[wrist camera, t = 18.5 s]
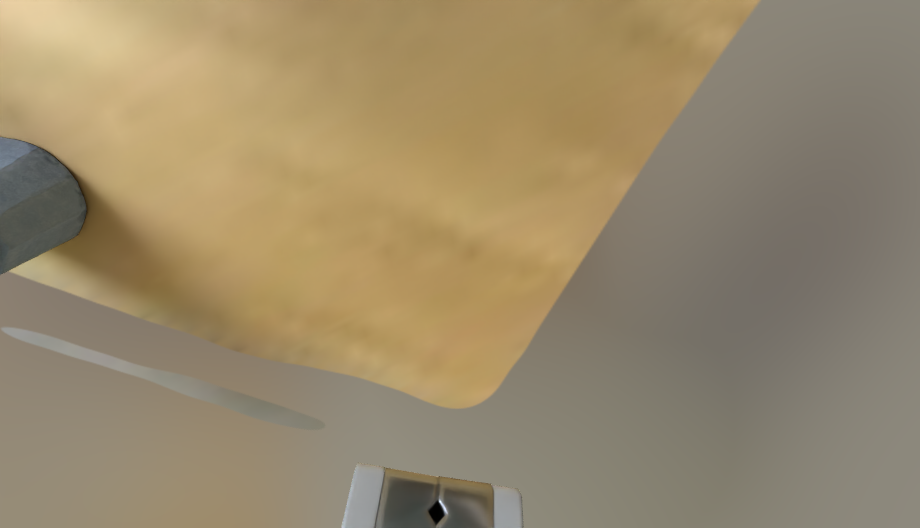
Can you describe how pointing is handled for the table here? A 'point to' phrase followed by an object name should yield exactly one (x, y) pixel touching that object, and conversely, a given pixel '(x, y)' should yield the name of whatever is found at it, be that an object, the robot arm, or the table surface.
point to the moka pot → (35, 203)
